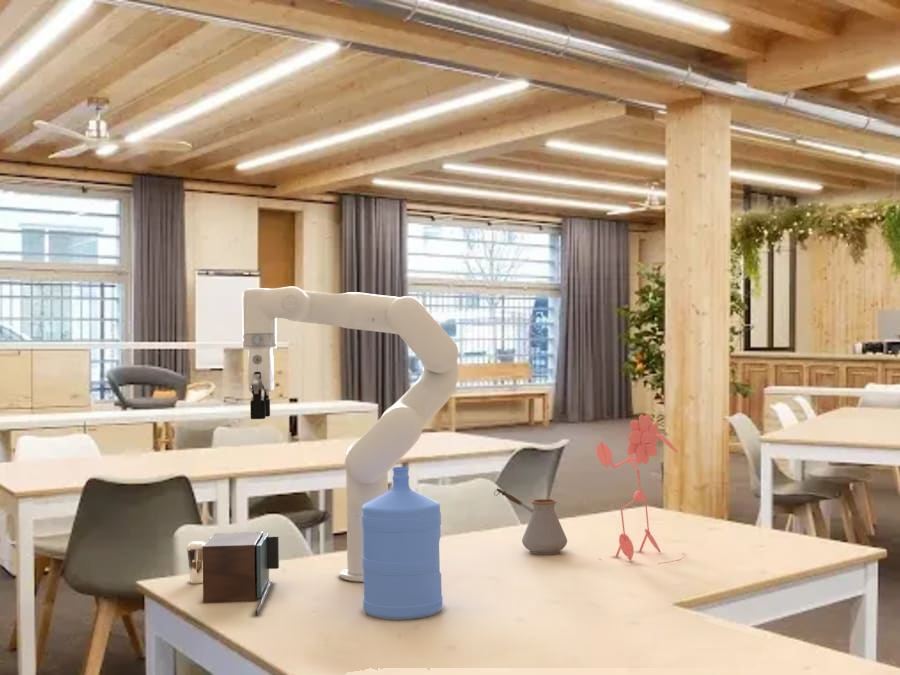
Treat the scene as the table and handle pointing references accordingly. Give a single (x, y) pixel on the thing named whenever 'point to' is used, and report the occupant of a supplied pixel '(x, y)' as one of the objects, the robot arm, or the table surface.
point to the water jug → (401, 553)
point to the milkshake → (195, 561)
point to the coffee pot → (541, 527)
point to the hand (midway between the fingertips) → (260, 417)
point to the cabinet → (231, 568)
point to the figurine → (642, 446)
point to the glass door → (266, 560)
